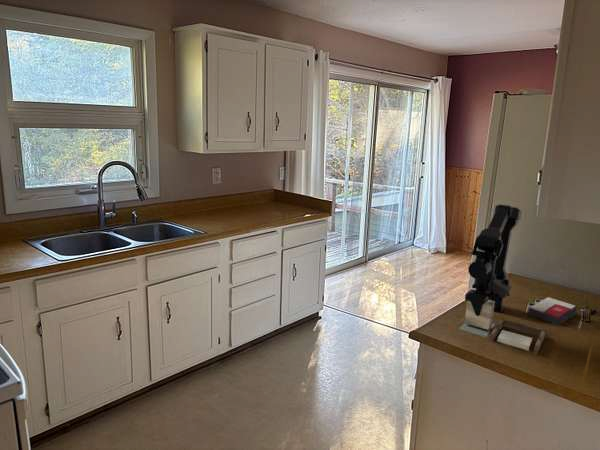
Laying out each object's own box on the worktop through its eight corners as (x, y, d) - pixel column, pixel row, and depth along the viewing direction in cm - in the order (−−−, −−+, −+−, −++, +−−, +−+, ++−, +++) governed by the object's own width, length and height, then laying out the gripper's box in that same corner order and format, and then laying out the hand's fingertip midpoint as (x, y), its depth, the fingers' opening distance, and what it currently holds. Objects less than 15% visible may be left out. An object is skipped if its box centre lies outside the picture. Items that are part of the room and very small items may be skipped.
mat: (469, 318, 166) (469, 317, 166) (495, 325, 161) (495, 324, 161) (458, 330, 157) (458, 328, 157) (486, 338, 152) (486, 336, 152)
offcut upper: (501, 333, 154) (502, 329, 154) (531, 342, 149) (532, 338, 149) (497, 341, 149) (498, 337, 149) (528, 349, 144) (529, 345, 144)
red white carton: (528, 306, 171) (547, 295, 180) (527, 316, 172) (545, 305, 181) (559, 316, 162) (577, 304, 171) (558, 327, 164) (576, 315, 172)
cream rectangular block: (467, 319, 163) (470, 295, 160) (491, 325, 158) (494, 301, 156) (464, 323, 160) (467, 299, 157) (488, 329, 155) (491, 305, 153)
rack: (500, 326, 161) (501, 318, 161) (544, 338, 153) (545, 329, 153) (489, 342, 149) (490, 333, 149) (536, 356, 142) (537, 347, 141)
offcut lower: (501, 337, 155) (501, 333, 155) (533, 346, 149) (534, 342, 149) (496, 345, 149) (496, 341, 149) (529, 355, 144) (530, 351, 143)
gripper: (503, 284, 142) (497, 330, 146) (516, 268, 157) (510, 311, 161) (467, 276, 148) (461, 320, 152) (483, 262, 163) (477, 302, 167)
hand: (479, 313), depth 158 cm, fingers closed on cream rectangular block, 4 cm apart
